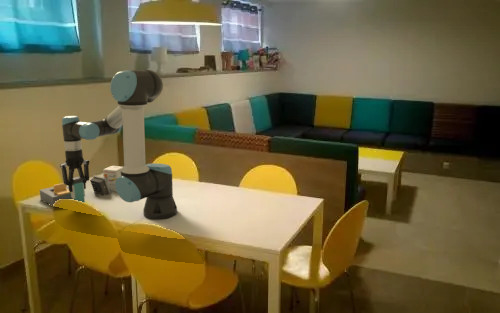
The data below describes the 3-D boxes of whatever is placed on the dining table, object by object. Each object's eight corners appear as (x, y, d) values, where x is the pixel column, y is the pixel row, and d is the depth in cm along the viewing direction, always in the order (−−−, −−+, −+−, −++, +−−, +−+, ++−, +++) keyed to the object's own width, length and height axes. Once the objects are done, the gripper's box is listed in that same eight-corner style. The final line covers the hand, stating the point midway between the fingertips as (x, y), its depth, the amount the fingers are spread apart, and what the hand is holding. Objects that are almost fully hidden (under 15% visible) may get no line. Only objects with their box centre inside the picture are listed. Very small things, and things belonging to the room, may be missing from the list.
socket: (78, 201, 212) (77, 191, 211) (53, 207, 204) (52, 197, 203) (64, 194, 223) (63, 184, 222) (40, 199, 215) (39, 189, 214)
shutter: (72, 192, 209) (71, 185, 208) (58, 195, 205) (58, 188, 204) (66, 189, 213) (65, 182, 213) (53, 192, 209) (52, 185, 208)
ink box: (103, 190, 230) (102, 168, 228) (113, 185, 238) (111, 165, 235) (117, 191, 228) (116, 170, 225) (126, 187, 236) (125, 166, 233)
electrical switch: (111, 193, 225) (108, 176, 222) (103, 197, 221) (100, 180, 218) (99, 190, 230) (96, 174, 227) (91, 193, 226) (88, 177, 223)
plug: (84, 202, 208) (82, 178, 205) (76, 204, 205) (74, 179, 202) (80, 200, 211) (78, 176, 208) (72, 202, 208) (70, 178, 205)
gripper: (87, 145, 210) (91, 191, 216) (51, 151, 198) (57, 199, 204) (94, 147, 205) (98, 194, 211) (58, 153, 193) (63, 202, 199)
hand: (78, 196), depth 207 cm, fingers closed on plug, 4 cm apart
